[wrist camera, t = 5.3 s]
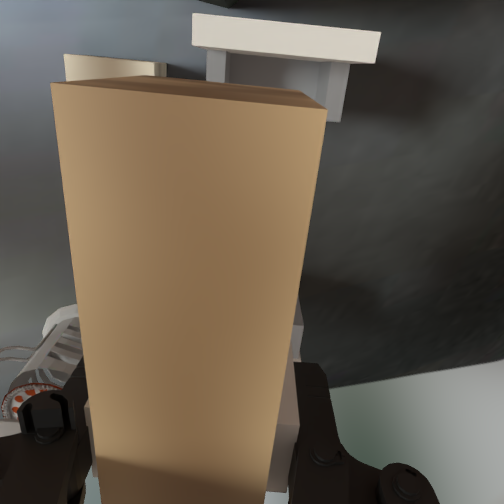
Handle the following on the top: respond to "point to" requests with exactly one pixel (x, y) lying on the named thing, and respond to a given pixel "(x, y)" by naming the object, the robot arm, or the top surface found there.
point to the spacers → (109, 67)
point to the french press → (44, 364)
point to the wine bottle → (221, 2)
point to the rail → (186, 274)
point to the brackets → (284, 67)
